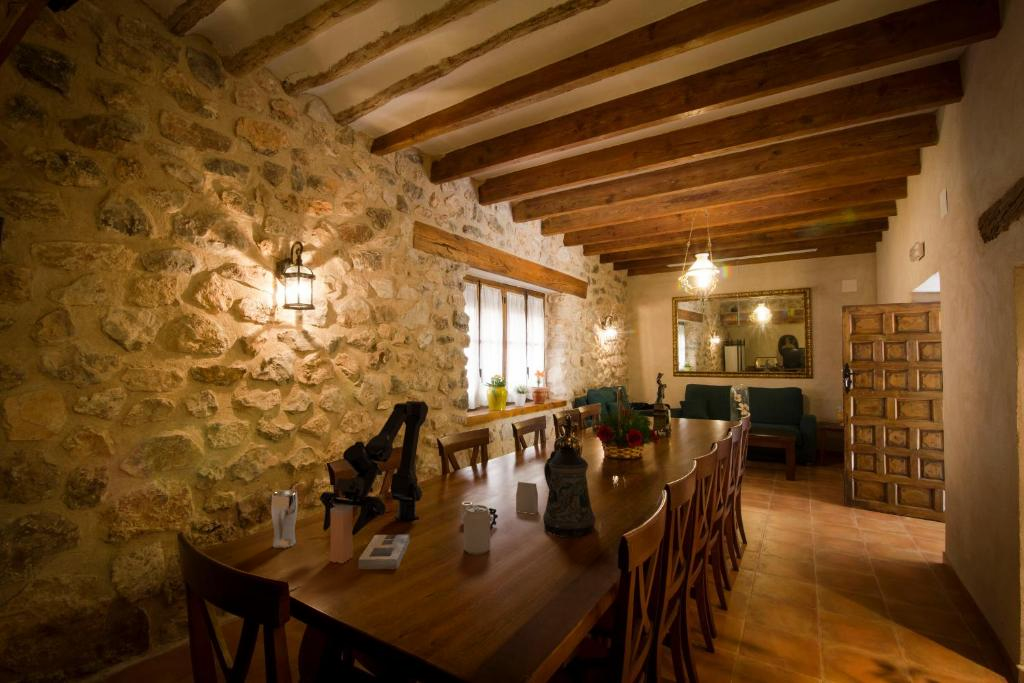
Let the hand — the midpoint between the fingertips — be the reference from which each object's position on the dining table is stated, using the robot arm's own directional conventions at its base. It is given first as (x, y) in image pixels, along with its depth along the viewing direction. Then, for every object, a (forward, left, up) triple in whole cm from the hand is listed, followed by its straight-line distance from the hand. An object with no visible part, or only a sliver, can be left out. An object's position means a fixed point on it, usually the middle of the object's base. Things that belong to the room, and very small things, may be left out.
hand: (338, 532), depth 130 cm
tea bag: (-7, +65, -8) cm, 66 cm away
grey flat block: (+3, +12, -8) cm, 15 cm away
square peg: (-1, +1, -8) cm, 8 cm away
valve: (-4, +44, -8) cm, 45 cm away
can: (+13, +35, -8) cm, 38 cm away
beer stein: (+12, +67, -8) cm, 69 cm away
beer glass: (-20, -11, -8) cm, 24 cm away
